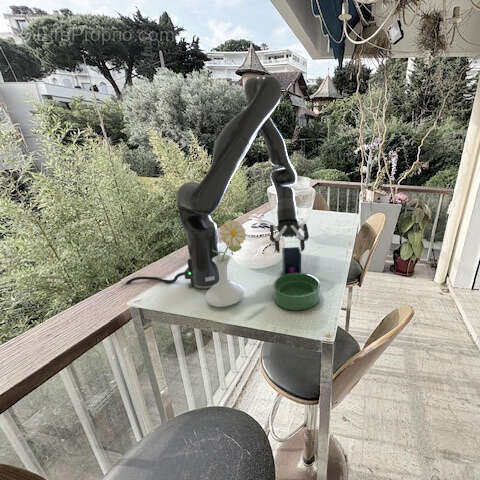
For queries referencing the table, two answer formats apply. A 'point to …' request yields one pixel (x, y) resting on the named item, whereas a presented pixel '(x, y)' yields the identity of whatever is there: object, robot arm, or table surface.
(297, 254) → the dark blue block
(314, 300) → the bowl
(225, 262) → the flower in vase
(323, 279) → the table surface
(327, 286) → the table surface
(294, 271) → the ball
